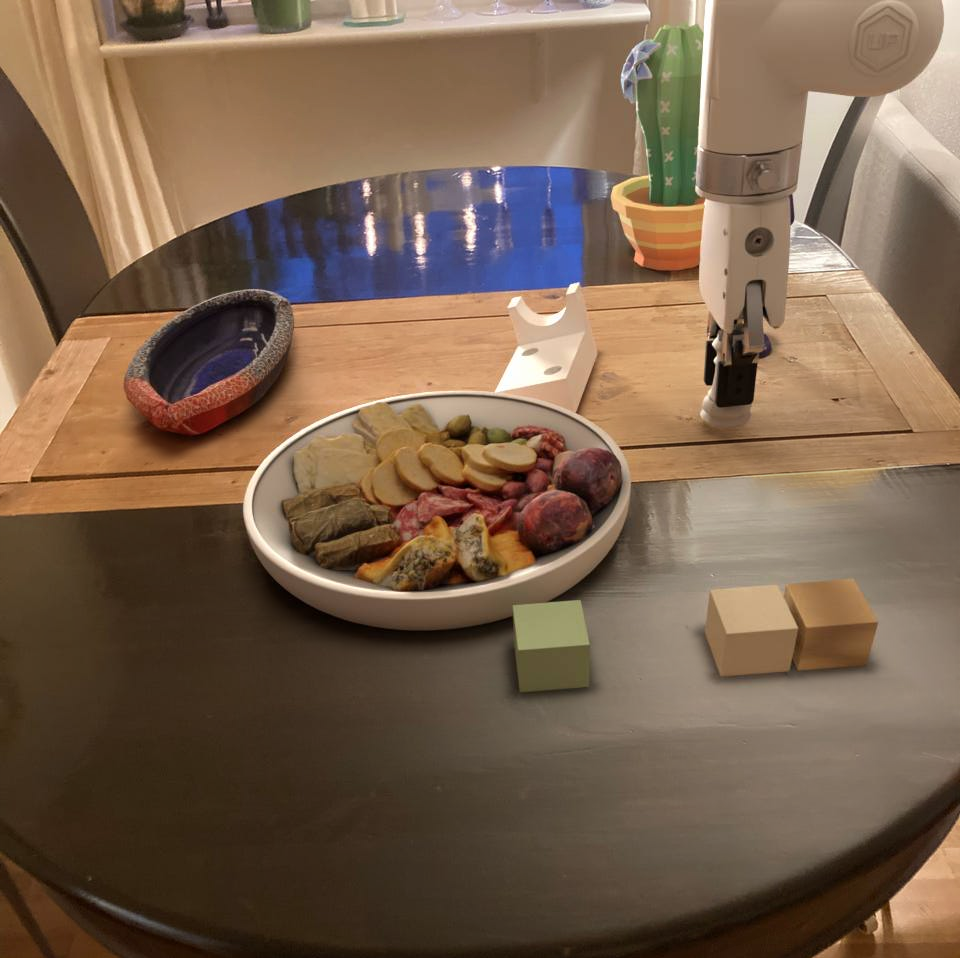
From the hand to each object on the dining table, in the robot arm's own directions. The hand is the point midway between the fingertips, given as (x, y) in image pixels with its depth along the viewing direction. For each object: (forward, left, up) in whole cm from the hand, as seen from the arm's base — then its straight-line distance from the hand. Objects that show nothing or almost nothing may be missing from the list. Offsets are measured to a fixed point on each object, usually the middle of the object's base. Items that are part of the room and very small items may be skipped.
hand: (727, 391), depth 83 cm
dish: (+49, -19, -4) cm, 53 cm away
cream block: (+6, +30, -4) cm, 31 cm away
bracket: (+15, -12, -5) cm, 20 cm away
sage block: (+19, +30, -4) cm, 36 cm away
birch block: (+1, +30, -4) cm, 30 cm away
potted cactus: (-4, -45, -4) cm, 46 cm away
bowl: (+26, +12, -4) cm, 29 cm away
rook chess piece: (0, 0, -3) cm, 3 cm away
